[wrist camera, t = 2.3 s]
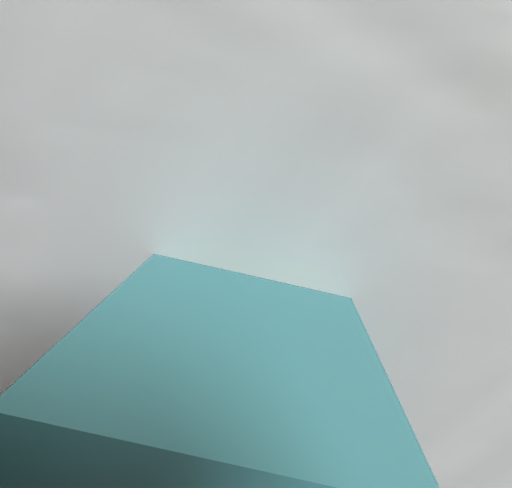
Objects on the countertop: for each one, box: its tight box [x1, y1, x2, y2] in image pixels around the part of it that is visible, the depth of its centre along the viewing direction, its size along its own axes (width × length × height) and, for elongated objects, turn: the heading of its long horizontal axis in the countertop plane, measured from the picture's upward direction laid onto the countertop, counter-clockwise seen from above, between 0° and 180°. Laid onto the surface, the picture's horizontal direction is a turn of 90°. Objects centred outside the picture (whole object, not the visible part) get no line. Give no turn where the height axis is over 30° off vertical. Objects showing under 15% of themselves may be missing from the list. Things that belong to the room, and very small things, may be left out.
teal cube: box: [0, 254, 439, 488], centre depth 7 cm, size 5×5×5 cm
